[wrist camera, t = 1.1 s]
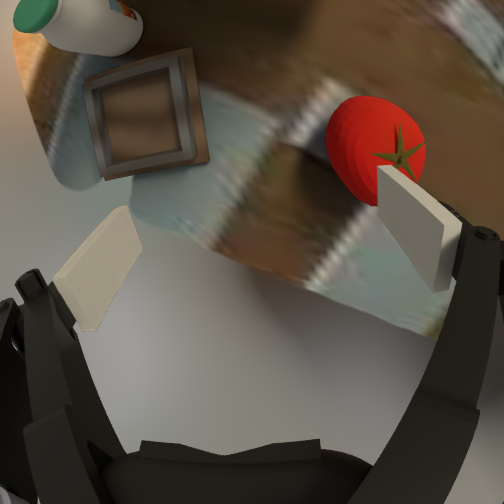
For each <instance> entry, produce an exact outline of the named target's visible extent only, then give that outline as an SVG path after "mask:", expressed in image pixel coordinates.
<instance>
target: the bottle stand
mask: <svg viewBox="0 0 504 504" xmlns="http://www.w3.org/2000/svg"><path fill="white" fill-rule="evenodd" d="M84 80H85V84H83V85H82V86H83V93H84V99H85V105H86V111H87V116H88V121H89V126H90V131H91V136H92V141H93V145H94V150H95V154H96V158H97V163H98V167H99V171H100V175H101V177H104V179H105V181H108V180H112V179H116V178H121V177H126V176H131V175H136V174H141V173H146V172H151V171H156V170H162V169H167V168H173V167H179V166H185V165H191V164H198V163H204V162H209V161H210V157H209V151H208V145H207V138H206V132H205V126H204V119H203V113H202V106H201V100H200V93H199V86H198V80H197V73H196V66H195V59H194V51H193V48H192V47H189V48H185V49H180V50H176V51H171V52H167V53H163V54H159V55H155V56H152V57H148V58H145V59H141V60H138V61H134V62H131V63H128V64H125V65H122V66H119V67H116V68H113V69H110V70H107V71H104V72H101V73H99V74H96V75H93V76H91V77H88V78H86V79H84Z"/></svg>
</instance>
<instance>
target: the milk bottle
mask: <svg viewBox="0 0 504 504" xmlns="http://www.w3.org/2000/svg"><path fill="white" fill-rule="evenodd" d="M13 23H14V27H15V28H16V29H17V30H18V31H20V32H23V33H33V34H36V33H41V34H43V36H44V37H45V38H46V39H47V41H48V42H49V43H50V44H52V45H53V46H55V47H57V48H59V49H62V50H66V51H72V52H78V53H86V54H93V55H101V56H109V57H115V56H120V55H122V54H125V53H126V52H128V51H129V50H131V49H132V48H133V47H134V46H135V45H136V44H137V42H138V41H139V39H140V37H141V35H142V31H143V21H142V18H141V16H140V15H139V14H138V13H137V12H136V11H135V10H133V9H132V8H130V7H128V6H126V5H124V4H123V3H121V2H119V1H117V0H21V1H20V2H19V4H18V6H17V8H16V10H15V13H14V18H13Z"/></svg>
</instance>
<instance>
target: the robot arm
mask: <svg viewBox="0 0 504 504" xmlns="http://www.w3.org/2000/svg"><path fill="white" fill-rule="evenodd" d="M377 179H378V217H379V218H380V219H381V220H382V222H383V223H384V224H385V226H386V227H387V228H388V230H389V231H390V232H391V234H392V235H393V236H394V238H395V239H396V240H397V242H398V243H399V245H400V246H401V247H402V249H403V250H404V252H405V253H406V254H407V256H408V257H409V259H410V260H411V262H412V263H413V265H414V266H415V267H416V269H417V270H418V272H419V273H420V275H421V276H422V278H423V279H424V281H425V282H426V284H427V286H428V287H429V289H430V290H431V292H432V293H434V292H439V291H443V290H448V289H449V286H450V282H451V278H452V276H453V277H454V279H455V280H456V281H457V282H456V285H455V289H454V292H453V296H452V299H451V302H450V306H449V309H448V312H447V315H446V318H445V321H444V324H443V327H442V330H441V332H440V335H439V338H438V340H437V343H436V346H435V348H434V351H433V353H432V356H431V359H430V361H429V363H428V366H427V368H426V370H425V373H424V375H423V377H422V379H421V382H420V384H419V386H418V388H417V389H416V391H415V394H414V395H413V397H412V400H411V402H410V404H409V406H408V407H407V410H406V411H405V413H404V415H403V417H402V419H401V421H400V423H399V424H398V426H397V428H396V430H395V432H394V433H393V435H392V437H391V438H390V440H389V442H388V444H387V445H386V447H385V449H384V450H383V452H382V453H381V455H380V457H379V458H378V460H377V461H376V463H375V464H374V466H372V465H371V464H369V463H367V462H365V461H364V460H362V459H360V458H357V457H355V456H353V455H349V454H346V453H343V452H339V451H333V450H326V449H321V446H320V439H313V440H305V441H296V442H285V443H272V444H269V445H265V446H262V447H258V448H255V449H251V450H247V451H243V452H239V453H235V454H230V455H217V454H213V453H210V452H206V451H203V450H199V449H196V448H192V447H189V446H186V445H182V444H175V443H164V442H153V441H144V440H143V441H141V446H140V450H139V451H137V452H133V453H129V454H127V453H126V452H125V451H124V449H123V447H122V445H121V443H120V441H119V439H118V437H117V435H116V433H115V431H114V429H113V427H112V425H111V422H110V420H109V418H108V416H107V414H106V411H105V409H104V407H103V404H102V402H101V400H100V397H99V395H98V393H97V390H96V387H95V385H94V382H93V380H92V377H91V374H90V372H89V369H88V366H87V363H86V360H85V358H84V355H83V352H82V348H81V345H80V342H79V339H78V336H77V333H76V332H75V330H74V329H73V326H74V324H75V322H77V323H78V324H79V326H80V328H81V329H82V331H83V332H90V331H91V332H92V331H97V329H98V327H99V325H100V323H101V321H102V319H103V317H104V315H105V314H106V312H107V310H108V308H109V306H110V305H111V303H112V301H113V299H114V297H115V295H116V294H117V292H118V290H119V288H120V287H121V285H122V283H123V281H124V280H125V278H126V276H127V274H128V273H129V271H130V269H131V267H132V266H133V264H134V263H135V261H136V259H137V258H138V256H139V254H140V253H141V251H142V249H143V248H142V245H141V243H140V240H139V237H138V235H137V232H136V229H135V226H134V224H133V221H132V218H131V215H130V212H129V209H128V207H127V205H126V206H121V207H117V208H115V209H114V210H113V211H112V212H111V213H110V214H109V215H108V216H107V217H106V218H105V219H104V220H103V221H102V222H101V223H100V224H99V225H98V227H97V228H96V229H95V230H94V231H93V232H92V233H91V234H90V236H88V237H87V238H86V240H85V241H84V242H83V243H82V244H81V245H80V246H79V247H78V249H77V250H76V251H75V252H74V253H73V254H72V255H71V257H70V258H69V259H68V260H67V261H66V262H65V264H64V265H63V266H62V267H61V269H60V270H59V271H58V272H57V273H56V275H55V276H54V277H53V278H52V280H53V281H52V282H51V283H50V284H49V286H47V284H46V282H45V280H44V278H43V276H42V275H41V273H40V271H39V269H32V270H30V271H28V272H26V273H25V274H23V275H22V276H21V277H20V278H19V279H18V280H17V281H16V283H15V286H16V288H17V290H18V292H19V293H20V295H21V297H22V298H23V300H24V304H23V305H20V306H17V304H16V302H15V301H14V299H13V298H8V299H6V300H2V301H1V302H0V504H37V500H38V497H39V500H40V503H41V504H444V502H445V500H446V498H447V496H448V494H449V492H450V490H451V488H452V486H453V484H454V482H455V480H456V478H457V475H458V473H459V471H460V469H461V466H462V464H463V461H464V459H465V457H466V454H467V451H468V449H469V447H470V444H471V441H472V439H473V436H474V433H475V430H476V427H477V424H478V420H479V416H480V410H478V409H476V405H477V401H478V398H479V394H480V390H481V387H482V383H483V379H484V375H485V371H486V367H487V362H488V358H489V353H490V347H491V342H492V337H493V330H494V323H495V317H496V309H497V300H498V295H499V300H500V305H501V310H502V315H503V321H504V241H500V237H499V235H498V234H497V233H496V232H495V231H493V230H492V229H489V228H486V227H482V226H474V227H473V226H472V225H471V224H470V223H469V222H468V221H467V220H465V219H464V218H463V217H462V216H460V214H459V213H457V212H455V210H454V209H453V208H452V207H450V206H449V205H447V204H445V203H443V202H441V201H436V200H435V199H434V198H433V197H432V196H430V195H429V194H428V193H427V192H426V191H424V190H423V189H422V188H421V187H419V186H418V185H417V184H415V183H414V182H413V181H412V180H410V179H409V178H408V177H406V176H405V175H404V174H402V173H401V172H400V171H398V170H397V169H396V168H394V167H393V166H391V165H383V166H377ZM12 343H13V344H14V345H15V347H16V348H17V351H16V349H15V348H14V346H13V344H12ZM502 504H504V502H503V503H502Z"/></svg>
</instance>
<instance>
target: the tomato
mask: <svg viewBox="0 0 504 504" xmlns="http://www.w3.org/2000/svg"><path fill="white" fill-rule="evenodd" d="M426 141H427V140H426ZM426 141H424V137H423V135H422V133H421V131H420V129H419V127H418V126H417V124H416V122H415V121H414V120H413V119H412V118H411V117H410V116H409V115H408V114H407V113H406V112H404V111H403V110H402V109H401V108H399V107H398V106H396V105H394V104H393V103H391V102H389V101H387V100H384V99H381V98H377V97H371V96H356V97H352V98H349V99H347V100H346V101H344V102H343V103H341V104H340V106H339V107H338V108H337V109H336V110H335V111H334V113H333V114H332V116H331V118H330V119H329V122H328V125H327V128H326V149H327V152H328V156H329V160H330V162H331V164H332V166H333V168H334V170H335V172H336V173H337V174H338V176H339V177H340V179H341V180H342V182H343V183H344V184H345V186H346V187H347V188H348V189H349V190H350V191H351V193H352V194H353V195H354V196H355V197H356V198H358V199H359V200H360V201H362V202H364V203H366V204H368V205H370V206H378V179H377V166H383V165H391V166H393V167H394V168H396V169H397V170H398V171H400V172H401V173H402V174H404V175H405V176H406V177H408V178H409V179H410V180H412V181H413V182H414V183H415V184H417V183H418V180H419V178H420V176H421V173H422V170H423V167H424V163H425V159H426V146H425V143H426Z"/></svg>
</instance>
